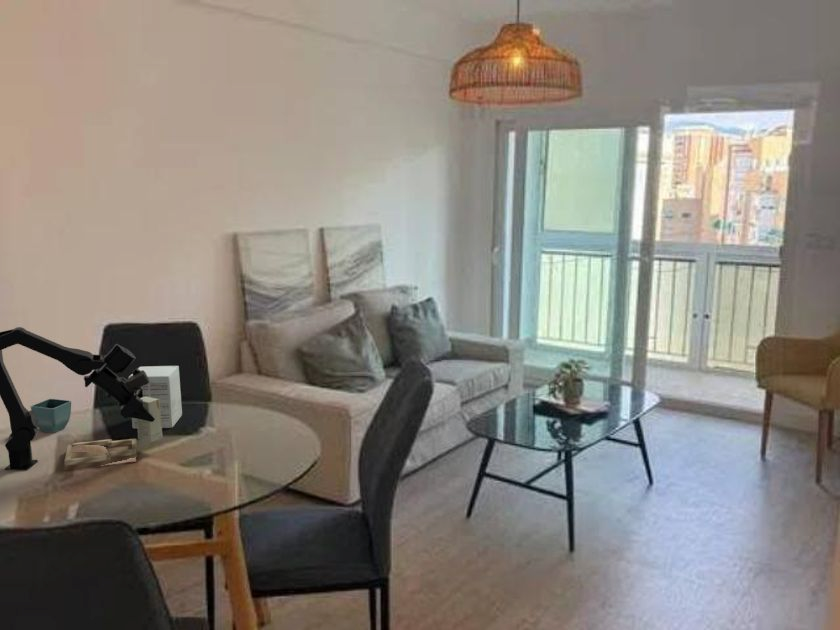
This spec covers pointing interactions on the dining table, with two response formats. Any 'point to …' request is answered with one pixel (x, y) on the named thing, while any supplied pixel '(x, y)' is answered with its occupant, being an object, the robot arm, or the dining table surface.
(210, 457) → the dining table surface
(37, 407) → the flower pot
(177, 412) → the supplement box
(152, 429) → the skincare box
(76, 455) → the keyhole guide
